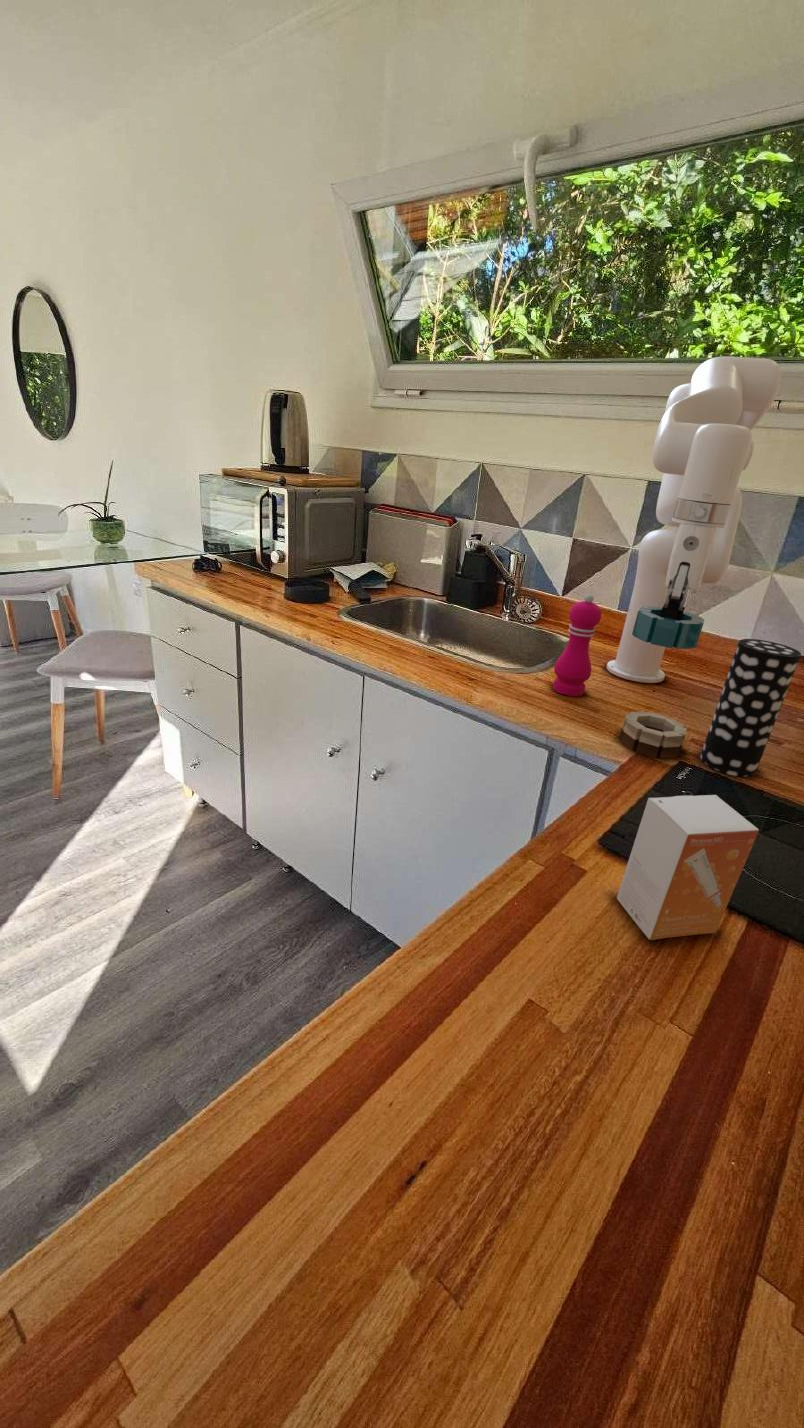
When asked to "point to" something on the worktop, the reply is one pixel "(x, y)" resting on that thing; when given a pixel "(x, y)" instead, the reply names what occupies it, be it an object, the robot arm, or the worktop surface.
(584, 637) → the pepper mill
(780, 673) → the spotted tube
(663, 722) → the ring stack
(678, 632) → the teal ring
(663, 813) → the small box
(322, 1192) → the worktop surface
